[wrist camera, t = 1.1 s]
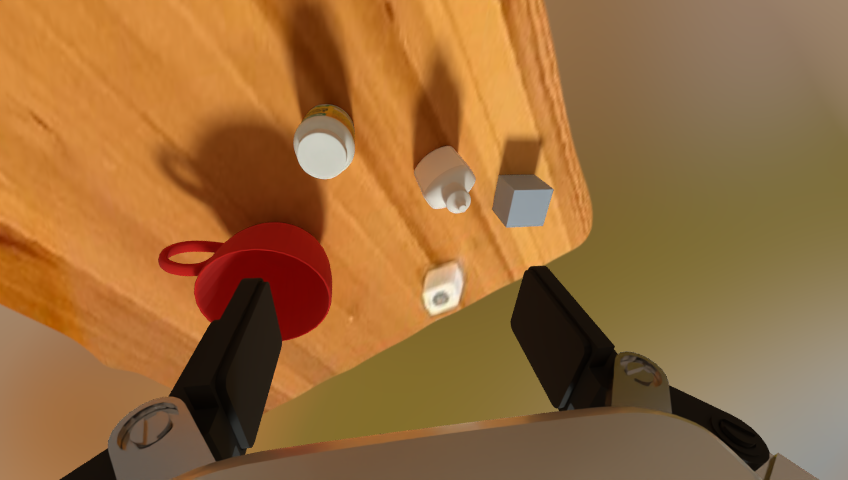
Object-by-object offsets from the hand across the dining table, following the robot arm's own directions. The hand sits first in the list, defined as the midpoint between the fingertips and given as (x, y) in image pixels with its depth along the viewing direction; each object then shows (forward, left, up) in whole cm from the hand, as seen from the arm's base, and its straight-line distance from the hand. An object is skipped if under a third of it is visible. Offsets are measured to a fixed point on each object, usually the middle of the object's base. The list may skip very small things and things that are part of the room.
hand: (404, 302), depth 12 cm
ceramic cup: (+14, -14, -28) cm, 34 cm away
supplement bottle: (0, -5, -28) cm, 28 cm away
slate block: (+8, +18, -28) cm, 34 cm away
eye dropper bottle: (+4, +7, -28) cm, 29 cm away
